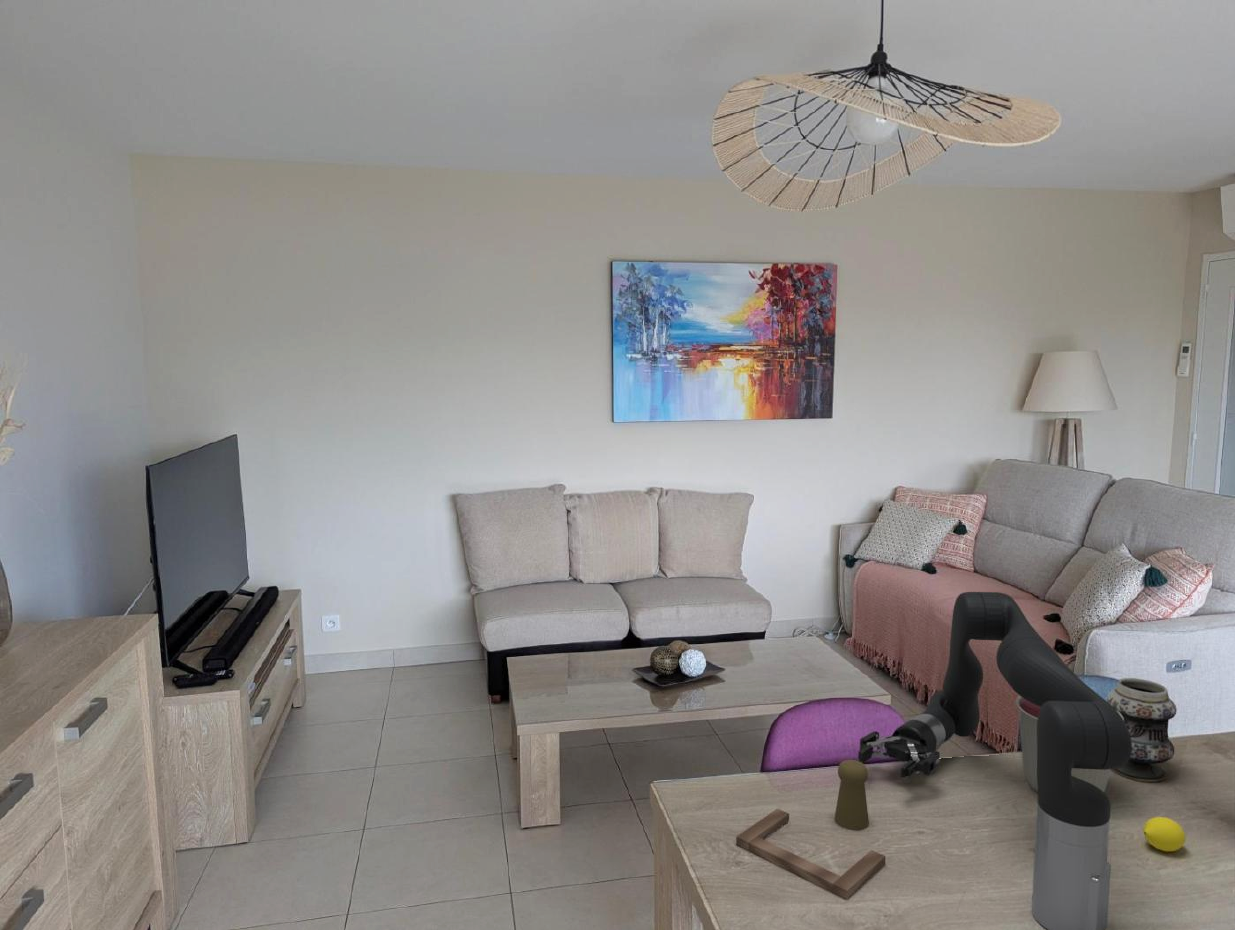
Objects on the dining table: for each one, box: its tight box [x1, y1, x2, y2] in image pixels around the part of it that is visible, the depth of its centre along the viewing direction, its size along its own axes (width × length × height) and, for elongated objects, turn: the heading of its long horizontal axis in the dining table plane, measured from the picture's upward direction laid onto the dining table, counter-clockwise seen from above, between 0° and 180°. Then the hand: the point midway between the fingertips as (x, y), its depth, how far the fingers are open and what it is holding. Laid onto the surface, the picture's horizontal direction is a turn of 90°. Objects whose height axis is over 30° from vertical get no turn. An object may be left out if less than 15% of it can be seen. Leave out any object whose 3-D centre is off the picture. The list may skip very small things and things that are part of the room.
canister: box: [1015, 695, 1124, 793], centre depth 155 cm, size 18×18×21 cm
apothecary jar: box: [1106, 677, 1177, 783], centre depth 163 cm, size 12×12×18 cm
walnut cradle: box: [735, 808, 886, 900], centre depth 136 cm, size 21×12×2 cm, turn 45°
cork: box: [834, 759, 870, 831], centre depth 146 cm, size 6×6×11 cm
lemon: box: [1143, 816, 1186, 853], centre depth 137 cm, size 7×5×5 cm
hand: (881, 765), depth 153 cm, fingers open, 8 cm apart
